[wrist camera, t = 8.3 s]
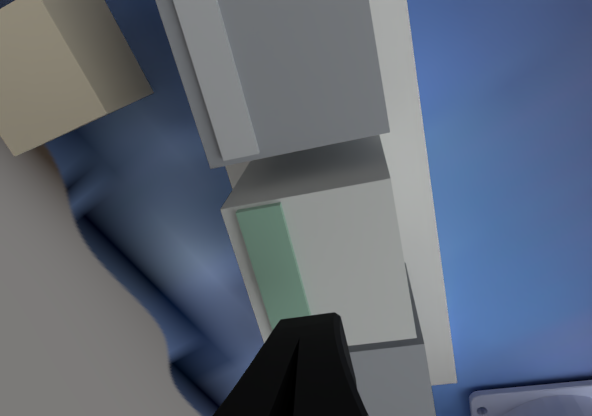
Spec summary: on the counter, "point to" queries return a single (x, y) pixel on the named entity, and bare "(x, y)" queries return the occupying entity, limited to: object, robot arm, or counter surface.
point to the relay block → (61, 69)
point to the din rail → (326, 139)
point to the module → (322, 240)
